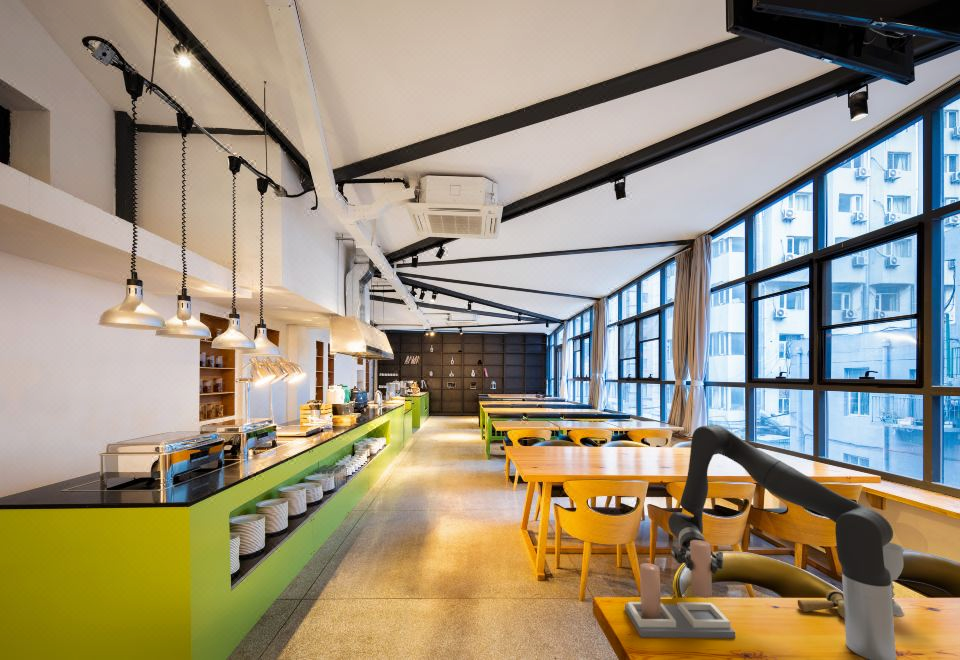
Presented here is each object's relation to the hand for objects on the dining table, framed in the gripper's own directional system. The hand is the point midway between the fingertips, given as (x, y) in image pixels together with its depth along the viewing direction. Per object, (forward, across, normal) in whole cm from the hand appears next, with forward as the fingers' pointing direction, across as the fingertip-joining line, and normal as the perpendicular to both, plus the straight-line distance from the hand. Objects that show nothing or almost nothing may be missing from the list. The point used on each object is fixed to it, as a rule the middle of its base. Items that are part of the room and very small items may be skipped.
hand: (702, 568), depth 120 cm
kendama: (-19, +36, +16) cm, 44 cm away
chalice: (-26, +52, +15) cm, 60 cm away
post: (-3, 0, +8) cm, 8 cm away
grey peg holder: (0, -7, +15) cm, 17 cm away
